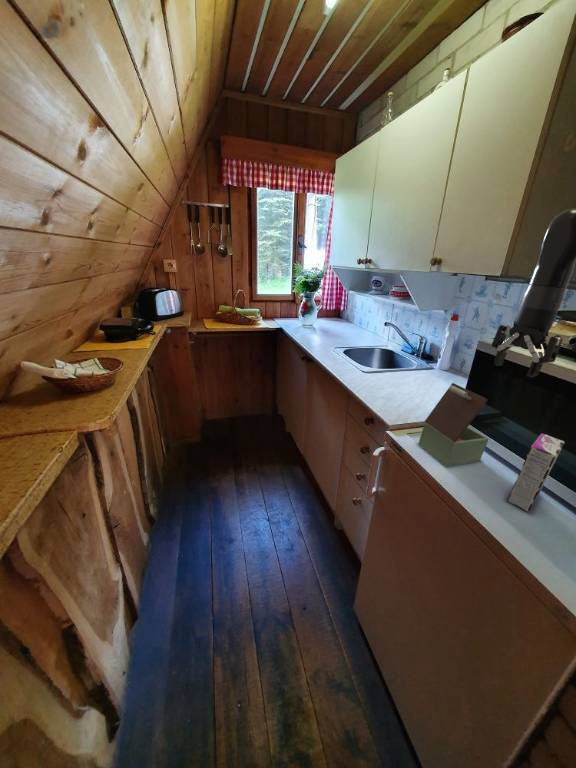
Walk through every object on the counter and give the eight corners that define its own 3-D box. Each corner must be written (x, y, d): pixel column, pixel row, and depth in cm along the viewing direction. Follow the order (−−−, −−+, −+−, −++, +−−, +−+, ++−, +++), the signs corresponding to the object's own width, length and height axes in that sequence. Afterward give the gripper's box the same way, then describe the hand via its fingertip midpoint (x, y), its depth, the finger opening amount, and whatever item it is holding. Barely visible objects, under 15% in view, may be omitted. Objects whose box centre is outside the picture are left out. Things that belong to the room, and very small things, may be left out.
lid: (453, 383, 93) (444, 377, 90) (488, 399, 83) (479, 392, 80) (425, 422, 95) (416, 416, 93) (455, 442, 85) (446, 437, 83)
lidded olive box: (449, 440, 103) (457, 419, 100) (480, 460, 93) (488, 438, 90) (418, 444, 98) (424, 423, 95) (446, 466, 88) (454, 443, 85)
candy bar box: (517, 484, 84) (541, 432, 78) (539, 494, 80) (566, 441, 74) (505, 500, 77) (530, 445, 71) (528, 513, 73) (557, 456, 67)
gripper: (583, 312, 67) (552, 380, 73) (519, 302, 80) (497, 361, 86) (562, 310, 65) (532, 381, 71) (499, 301, 77) (478, 362, 83)
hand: (513, 370), depth 78 cm, fingers open, 8 cm apart
